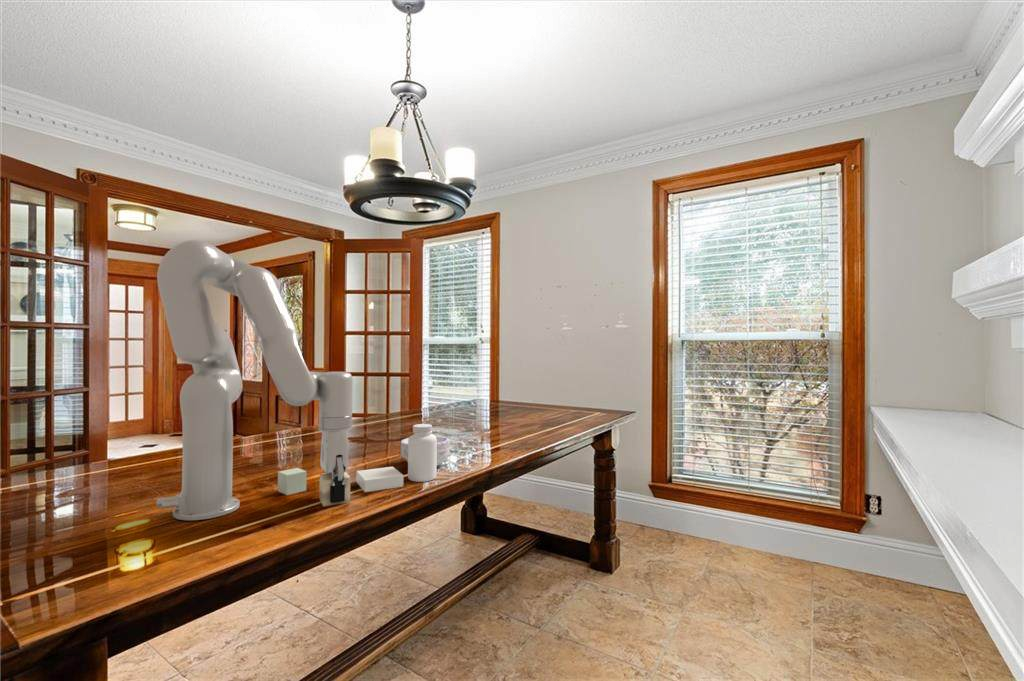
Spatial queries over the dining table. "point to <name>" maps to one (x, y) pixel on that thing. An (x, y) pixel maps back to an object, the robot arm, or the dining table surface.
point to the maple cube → (325, 489)
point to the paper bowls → (442, 448)
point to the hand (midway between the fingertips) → (334, 497)
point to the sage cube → (292, 481)
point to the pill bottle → (422, 454)
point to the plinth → (379, 479)
